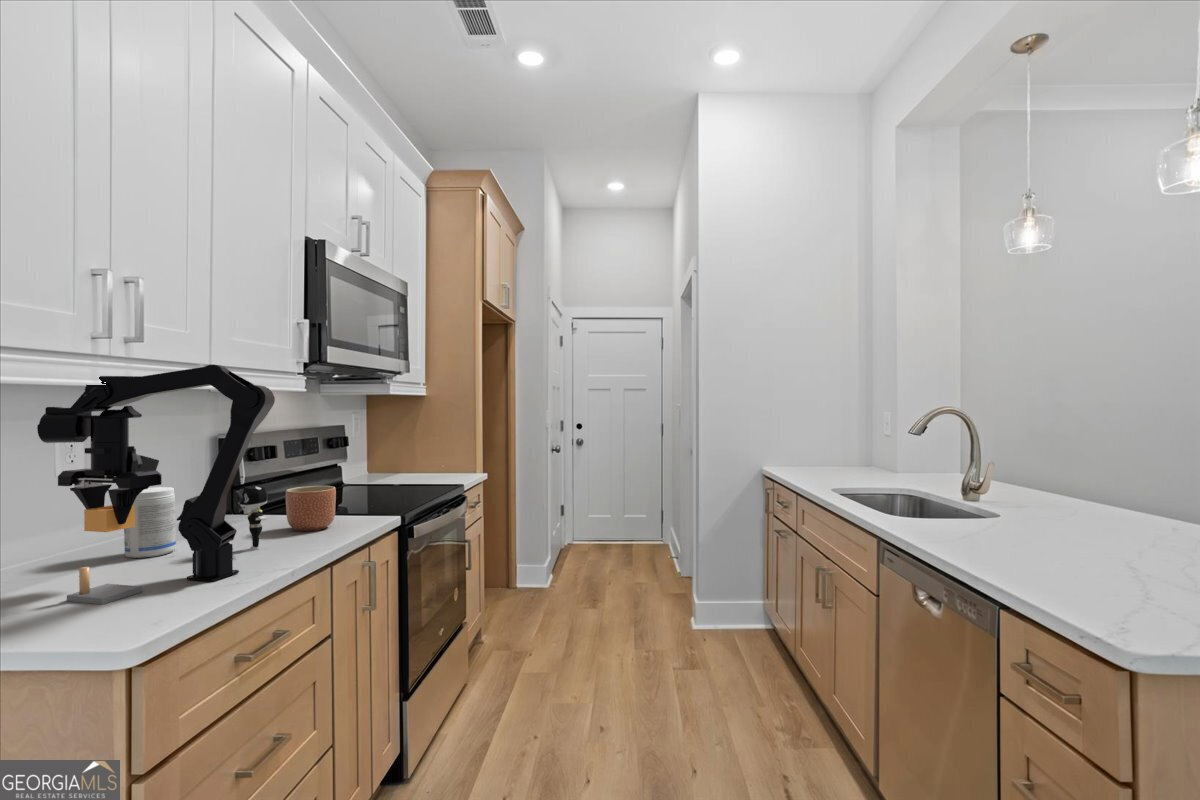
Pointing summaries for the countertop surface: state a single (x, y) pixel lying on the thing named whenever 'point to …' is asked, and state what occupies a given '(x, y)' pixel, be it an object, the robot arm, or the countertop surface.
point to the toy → (254, 510)
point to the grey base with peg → (100, 590)
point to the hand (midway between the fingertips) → (110, 523)
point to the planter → (310, 507)
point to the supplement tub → (152, 524)
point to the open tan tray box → (106, 519)
